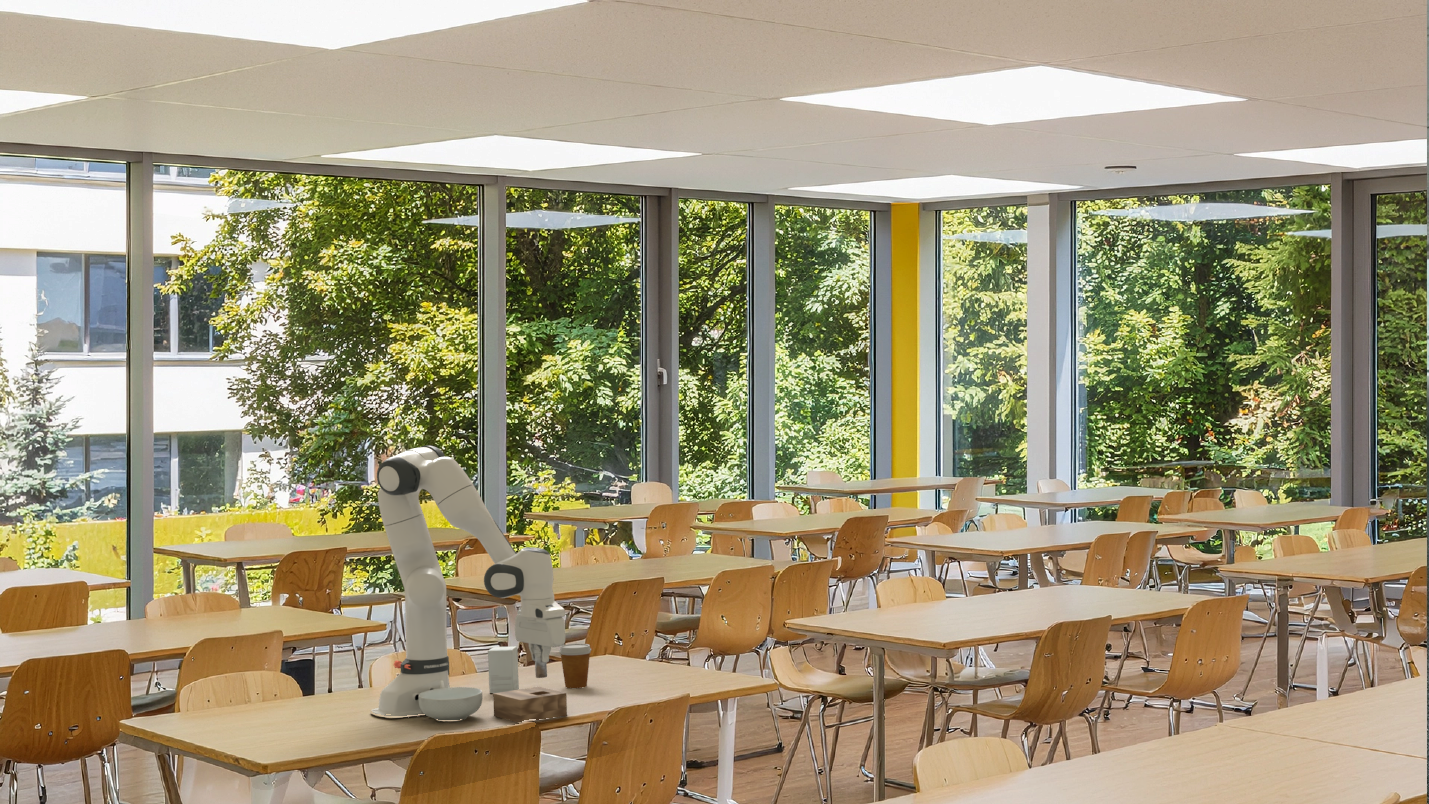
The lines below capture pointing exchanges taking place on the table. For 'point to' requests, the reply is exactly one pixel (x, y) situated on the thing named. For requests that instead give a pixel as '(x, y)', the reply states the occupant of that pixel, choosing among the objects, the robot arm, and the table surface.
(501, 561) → the robot arm
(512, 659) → the supplement box
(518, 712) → the socket block
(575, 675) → the disposable coffee cup
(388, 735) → the table surface
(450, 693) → the cereal bowl
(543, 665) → the pin
